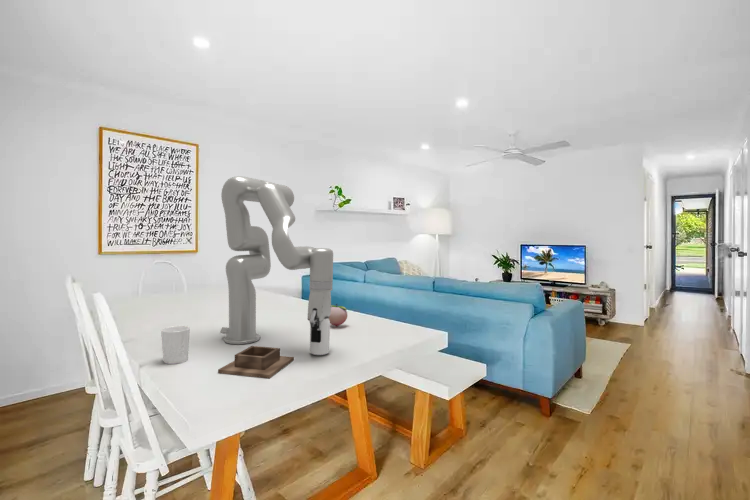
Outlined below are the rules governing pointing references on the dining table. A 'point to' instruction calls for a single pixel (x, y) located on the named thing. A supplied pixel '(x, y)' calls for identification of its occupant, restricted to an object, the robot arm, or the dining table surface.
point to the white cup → (175, 344)
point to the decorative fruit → (337, 315)
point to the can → (323, 346)
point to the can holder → (257, 362)
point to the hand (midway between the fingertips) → (319, 338)
